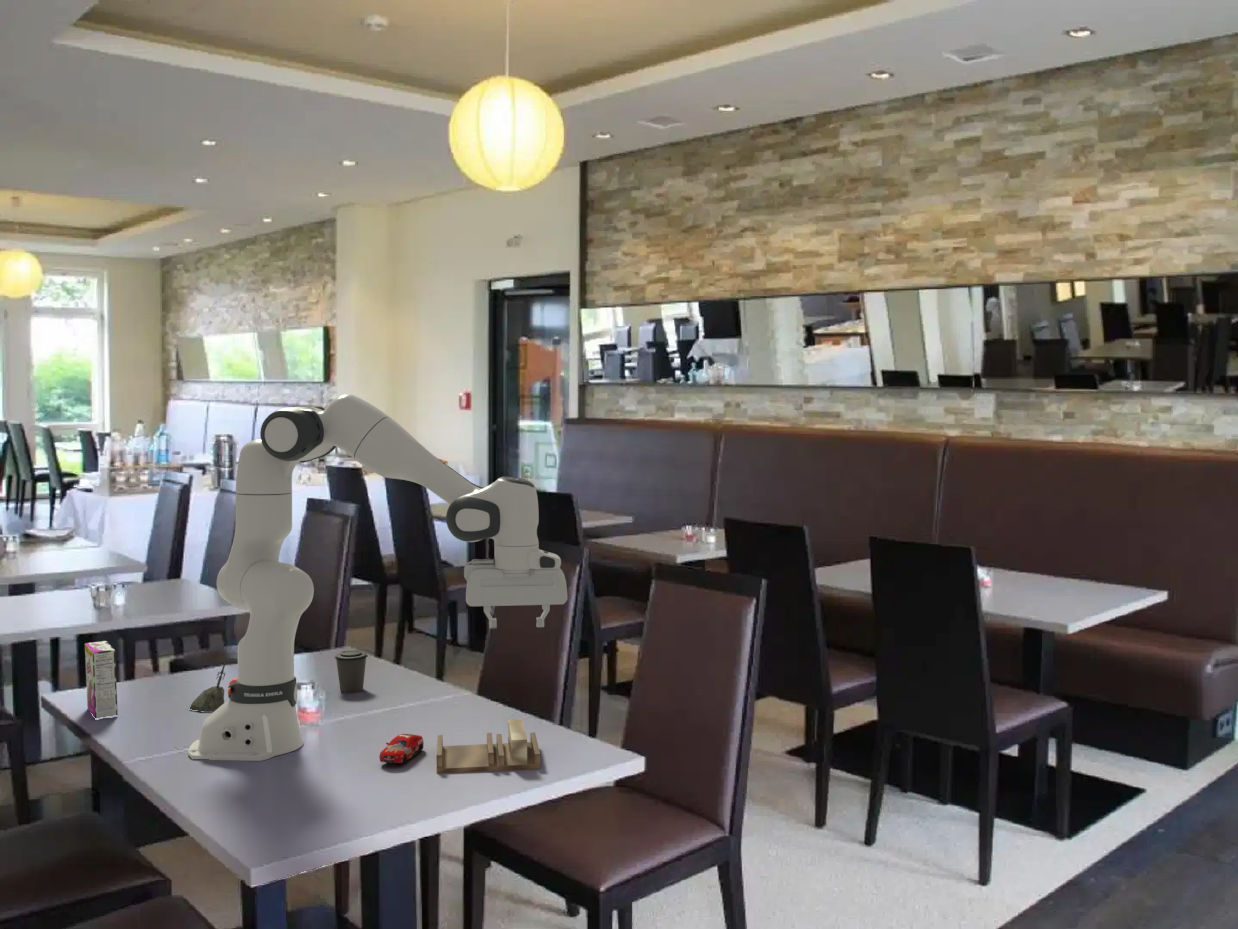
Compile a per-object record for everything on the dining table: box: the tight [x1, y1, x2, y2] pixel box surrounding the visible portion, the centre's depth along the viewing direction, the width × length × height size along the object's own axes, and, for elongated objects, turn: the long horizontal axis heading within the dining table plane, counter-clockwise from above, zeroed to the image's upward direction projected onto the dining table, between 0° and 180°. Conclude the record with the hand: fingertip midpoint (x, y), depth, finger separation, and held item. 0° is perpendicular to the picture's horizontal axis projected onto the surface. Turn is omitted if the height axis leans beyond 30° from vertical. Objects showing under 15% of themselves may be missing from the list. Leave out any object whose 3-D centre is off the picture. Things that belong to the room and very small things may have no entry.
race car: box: [379, 733, 424, 765], centre depth 224 cm, size 13×5×4 cm, turn 166°
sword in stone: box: [189, 657, 228, 711], centre depth 259 cm, size 10×8×12 cm
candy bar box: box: [84, 640, 118, 718], centre depth 253 cm, size 11×5×16 cm, turn 34°
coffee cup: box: [334, 650, 369, 694], centre depth 275 cm, size 8×8×10 cm
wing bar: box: [507, 718, 528, 765], centre depth 224 cm, size 3×14×5 cm, turn 8°
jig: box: [435, 732, 541, 774], centre depth 223 cm, size 20×14×4 cm
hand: (516, 627), depth 222 cm, fingers open, 8 cm apart
